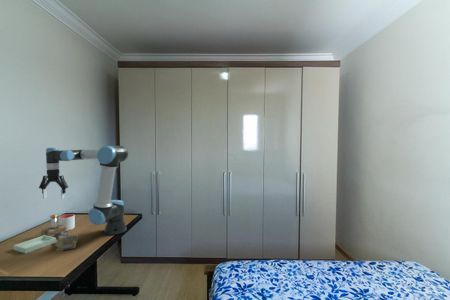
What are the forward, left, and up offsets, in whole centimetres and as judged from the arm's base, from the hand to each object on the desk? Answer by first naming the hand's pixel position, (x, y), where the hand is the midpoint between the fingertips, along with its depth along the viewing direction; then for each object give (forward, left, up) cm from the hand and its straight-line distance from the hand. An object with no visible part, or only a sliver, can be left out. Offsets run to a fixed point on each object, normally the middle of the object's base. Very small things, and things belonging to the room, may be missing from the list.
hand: (53, 198), depth 172 cm
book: (-30, +11, -26) cm, 41 cm away
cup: (-3, -7, -25) cm, 26 cm away
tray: (-14, +20, -25) cm, 35 cm away
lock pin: (-6, +4, -25) cm, 26 cm away
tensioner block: (-6, +4, -25) cm, 26 cm away
